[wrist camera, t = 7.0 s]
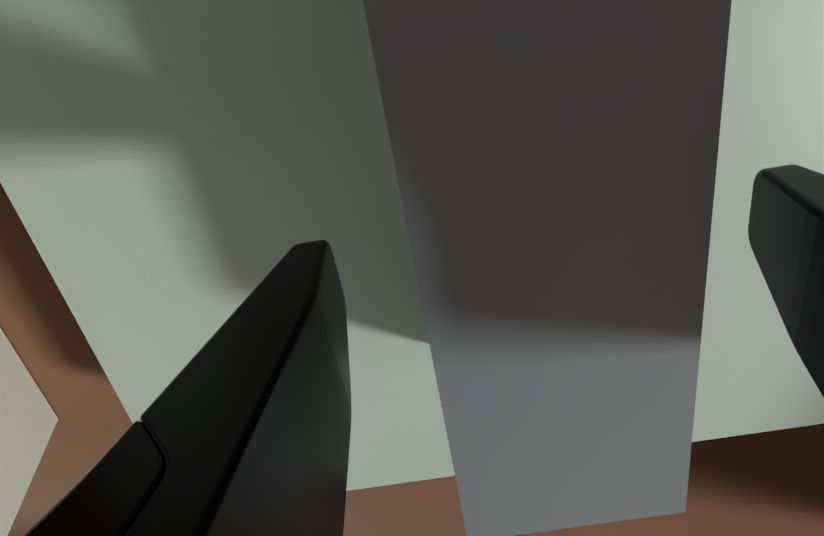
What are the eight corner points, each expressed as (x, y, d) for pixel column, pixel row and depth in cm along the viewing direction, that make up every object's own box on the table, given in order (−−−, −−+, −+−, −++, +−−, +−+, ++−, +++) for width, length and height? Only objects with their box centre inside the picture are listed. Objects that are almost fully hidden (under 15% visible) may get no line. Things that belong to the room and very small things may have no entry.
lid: (838, 315, 18) (1056, 596, 12) (206, 409, 19) (137, 712, 13) (1064, -669, 9) (2262, -1322, 3) (-168, -407, 10) (-906, -568, 4)
